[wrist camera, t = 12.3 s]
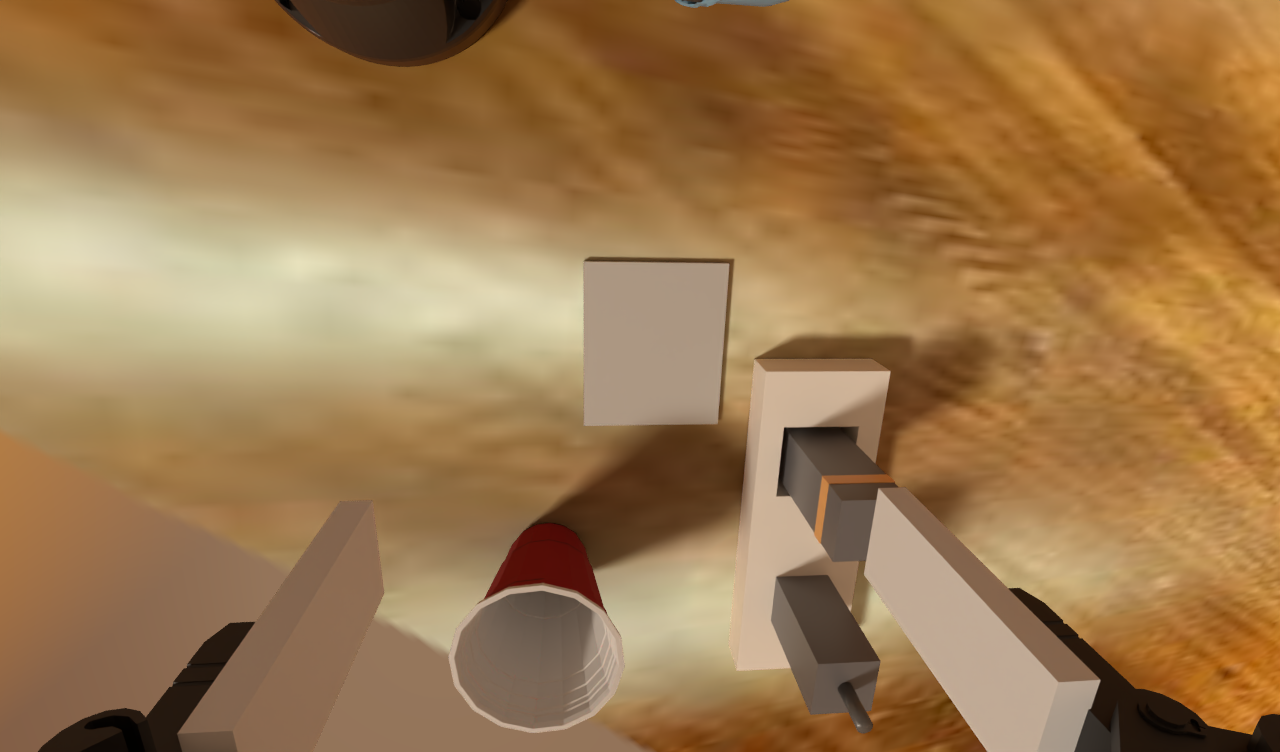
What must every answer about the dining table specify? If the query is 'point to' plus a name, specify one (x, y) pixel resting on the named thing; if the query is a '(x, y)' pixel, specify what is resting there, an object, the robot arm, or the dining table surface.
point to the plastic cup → (539, 638)
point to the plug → (832, 488)
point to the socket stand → (803, 539)
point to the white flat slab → (653, 342)
